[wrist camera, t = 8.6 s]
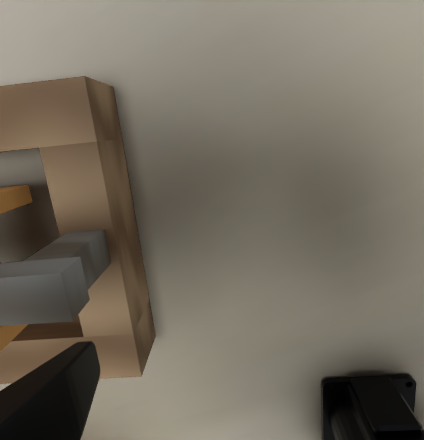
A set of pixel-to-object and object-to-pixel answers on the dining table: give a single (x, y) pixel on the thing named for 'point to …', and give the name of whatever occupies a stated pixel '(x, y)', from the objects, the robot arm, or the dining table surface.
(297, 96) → the dining table surface
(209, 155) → the dining table surface
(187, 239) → the dining table surface
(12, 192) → the orange arch block
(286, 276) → the dining table surface
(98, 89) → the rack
